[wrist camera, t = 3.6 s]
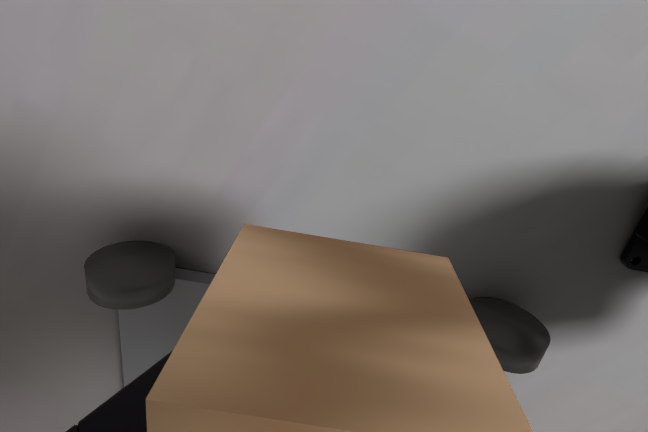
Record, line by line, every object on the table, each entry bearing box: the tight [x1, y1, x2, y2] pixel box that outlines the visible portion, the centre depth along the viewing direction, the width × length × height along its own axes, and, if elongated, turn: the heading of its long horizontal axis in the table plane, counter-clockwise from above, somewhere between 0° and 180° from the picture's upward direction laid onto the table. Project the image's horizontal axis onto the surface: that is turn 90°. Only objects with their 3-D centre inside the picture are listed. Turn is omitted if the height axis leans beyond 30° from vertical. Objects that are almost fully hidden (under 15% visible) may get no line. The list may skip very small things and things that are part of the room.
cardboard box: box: [145, 224, 533, 432], centre depth 8 cm, size 5×5×5 cm
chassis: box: [84, 241, 550, 387], centre depth 22 cm, size 23×15×4 cm, turn 81°
